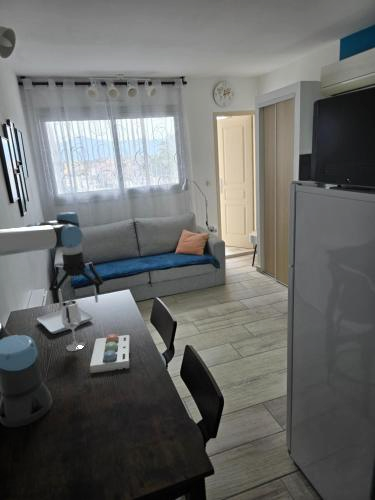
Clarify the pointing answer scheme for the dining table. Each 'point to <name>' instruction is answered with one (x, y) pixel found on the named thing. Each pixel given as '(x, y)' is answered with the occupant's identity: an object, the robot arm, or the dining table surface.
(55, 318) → the salad plate
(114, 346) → the sage button
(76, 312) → the wineglass
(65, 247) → the robot arm
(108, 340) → the terracotta button
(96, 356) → the button panel
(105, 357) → the slate button
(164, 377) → the dining table surface
